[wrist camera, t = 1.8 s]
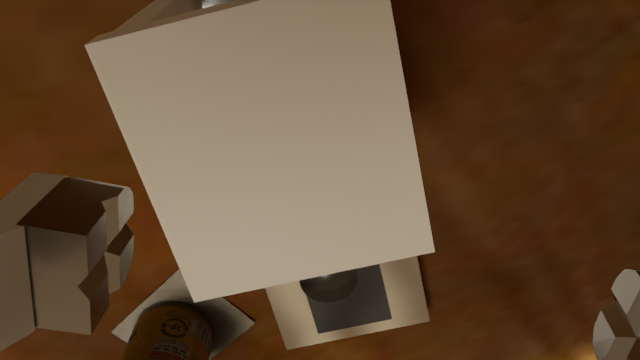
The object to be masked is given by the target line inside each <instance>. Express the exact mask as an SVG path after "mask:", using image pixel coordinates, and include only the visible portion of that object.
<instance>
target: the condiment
mask: <svg viewBox="0 0 640 360" xmlns="http://www.w3.org/2000/svg"><path fill="white" fill-rule="evenodd" d="M185 298H189V299H185ZM180 299H183V300H180ZM253 324H255V323H254V322H253V321H252V320H251V319H249V318H248V317H247V316H246V315H245V314H244V313H242V312H241V311H240V310H238V309H237V308H236V307H234V306H233V305H232V304H231V303H229V302H228V301H227V300H225V299H224V298H223V297H219V298H214V299H209V300H204V301H200V302H195V303H194V301H193V299H192V297H191V294H190V292H189V290H188V287H187V285H186V283H185V280H184V278H183V276H182V273H181V271H180V268H179V269H178V270H177V271H176V272H175V273H174V274H173V275H172V276H171V277H170V278H169V279H168V280H167V281H166V282H165V283H164V284H163V285H161V286H160V287H159V288H158V289H157V290H156V291H155V292H154V293H153V294H152V295H151V296H149V297H148V298H147V299H146V300H145V301H144V302H143V303H141V304H140V305H139V306H138V307H137V308H136V309H135V310H134V311H133V312H132V313H131V314H130V315H129V316H127V317H126V318H125V319H124V320H123V321H122V322H121V323H120V324H119V325H118V326H117V327H116V328H115V329H114V330H113V331H112V332H111V333H112V334H114V335H116V336H117V337H119V338H120V339H122V340H123V341H126V342H127V346H126V348H125V351H124V354H123V356H122V359H121V360H210V359H211V358H213V357H214V356H215V355H216V354H218V353H219V352H220V351H221V350H223V349H224V348H226V347H227V346H228V345H229V344H230V343H231V342H233V341H234V340H235V339H236V338H237V337H238V336H239V335H241V334H242V333H244V332H245V331H246V330H248V329H249V328H250V327H251V326H252V325H253ZM216 333H217V335H216Z"/></svg>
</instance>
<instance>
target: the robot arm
mask: <svg viewBox="0 0 640 360" xmlns="http://www.w3.org/2000/svg"><path fill="white" fill-rule="evenodd" d="M133 212H134V205H133V193H132V191H131V189H130V187H125V186H120V185H114V184H109V183H103V182H98V181H92V180H87V179H82V178H76V177H69V176H67V175H61V174H54V173H47V172H33V173H32V174H31V175H30V176H28V177H27V178H26V179H25V180H24V181H23V182H21V183H20V184H19V185H18V186H17V187H15V188H14V189H13V190H12V191H11V192H10V193H8V194H7V195H6V196H5V197H4V198H3V199H1V200H0V351H2V350H4V349H5V348H7V347H9V346H10V345H12V344H14V343H15V342H17V341H19V340H20V339H22V338H23V337H25V336H27V335H28V334H30V333H32V332H33V331H35V328H43V329H50V330H58V331H65V332H72V333H80V334H87V335H91V334H92V333H93V331H94V330H95V328H96V326H97V325H98V323H99V322H100V320H101V318H102V317H103V315H104V313H105V312H106V310H107V309H108V307H109V294H110V293H112V292H114V291H116V290H118V289H120V287H121V286H122V284H123V282H124V280H125V279H126V277H127V274H128V271H129V268H130V265H131V262H132V256H133V249H134V234H133V232H132V231H131V230H130V228H129V227H128V225H127V224H126V222H127V220H128V219H129V218H130V216H131V215H132V213H133ZM611 290H612V293H613V296H614V299H615V302H613V303H612V304H610V305H608V306H607V307H605V308H604V309H602V310H601V311H600V314H599V316H598V319H597V321H596V323H595V326H594V335H593V346H594V351H595V355H596V357H597V360H640V271H637V270H627V269H625V270H624V271H623V272H622V273H621V274H620V275H619V276H618V277H617V278H616V280H615V282H614V284H613V286H612V288H611Z"/></svg>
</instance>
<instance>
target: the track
mask: <svg viewBox="0 0 640 360" xmlns="http://www.w3.org/2000/svg"><path fill="white" fill-rule="evenodd" d="M196 2H197V5H198V8H199V9H203V8H202V5H201V2H200V0H196ZM356 273H357V283H356V286H355V288H354V290H353V291H352V293H351V294H350V295H348V296H347V297H346V298H344V299H342V300H340V301H336V302H331V303H325V302H319V301H316V300H313V299H311V298H310V297H308V296H307V295H306V294H305V293H304V292H303V290H302V288H301V286H300V281H295V282H290V283H285V284H280V285H276V286H271V287H266V288H265V289H266V292H267V295H268V298H269V300H270V303H271V306H272V309H273V312H274V315H275V318H276V320H277V323H278V326H279V329H280V332H281V335H282V338H283V340H284V343H285V346H286V349H287V350H289V349H294V348H299V347H304V346H309V345H314V344H319V343H324V342H328V341H333V340H338V339H343V338H348V337H353V336H358V335H363V334H368V333H373V332H378V331H383V330H388V329H393V328H398V327H403V326H408V325H413V324H418V323H423V322H428V321H430V320H429V315H428V310H427V305H426V299H425V294H424V289H423V284H422V279H421V274H420V269H419V264H418V258H417V256H414V257H409V258H404V259H399V260H395V261H390V262H385V263H380V264H375V265H371V266H366V267H361V268H356Z"/></svg>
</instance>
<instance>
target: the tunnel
mask: <svg viewBox="0 0 640 360" xmlns="http://www.w3.org/2000/svg"><path fill="white" fill-rule="evenodd" d="M85 48H86V50H87V52H88V55H89V57H90V59H91V62H92V64H93V66H94V69H95V71H96V73H97V76H98V78H99V80H100V83H101V85H102V88H103V90H104V92H105V95H106V97H107V99H108V102H109V104H110V106H111V109H112V111H113V113H114V116H115V118H116V120H117V123H118V125H119V127H120V130H121V132H122V135H123V137H124V139H125V142H126V144H127V146H128V149H129V151H130V153H131V156H132V158H133V160H134V163H135V165H136V167H137V170H138V172H139V174H140V177H141V179H142V182H143V184H144V186H145V189H146V191H147V193H148V196H149V198H150V200H151V203H152V205H153V207H154V210H155V212H156V214H157V217H158V219H159V221H160V224H161V226H162V229H163V231H164V233H165V236H166V238H167V240H168V243H169V245H170V247H171V250H172V252H173V254H174V257H175V259H176V261H177V264H178V266H179V268H180V271H181V273H182V276H183V278H184V280H185V283H186V285H187V287H188V290H189V292H190V294H191V297H192V299H193V301H194V303H195V302H200V301H204V300H209V299H214V298H219V297H223V296H228V295H233V294H238V293H242V292H247V291H252V290H257V289H261V288H266V287H271V286H276V285H280V284H285V283H290V282H295V281H299V280H304V279H309V278H314V277H318V276H323V275H328V274H333V273H337V272H342V271H347V270H352V269H356V268H361V267H366V266H371V265H375V264H380V263H385V262H390V261H395V260H399V259H404V258H409V257H414V256H418V255H423V254H428V253H433V252H435V250H434V244H433V239H432V233H431V227H430V222H429V216H428V210H427V205H426V199H425V194H424V188H423V182H422V177H421V171H420V165H419V160H418V154H417V148H416V143H415V137H414V131H413V126H412V120H411V115H410V109H409V103H408V98H407V92H406V86H405V81H404V75H403V69H402V64H401V58H400V53H399V47H398V41H397V36H396V30H395V24H394V19H393V13H392V7H391V2H390V0H234V1H230V2H226V3H222V4H219V5H215V6H211V7H207V8H203V9H199V8H198V5H197V2H196V0H154V1H153V2H152V3H150V4H149V5H148V6H146V7H145V8H144V9H142V10H141V11H140V12H138V13H137V14H135V15H134V16H133V17H131V18H130V19H129V20H127V21H126V22H125V23H123V24H122V25H121V26H119V27H118V28H117V29H115V30H114V31H112V32H108V33H104V34H100V35H98V36H96V37H95V38H94V39H92V40H91V41H89V42H88V43H87V44H85Z"/></svg>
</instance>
